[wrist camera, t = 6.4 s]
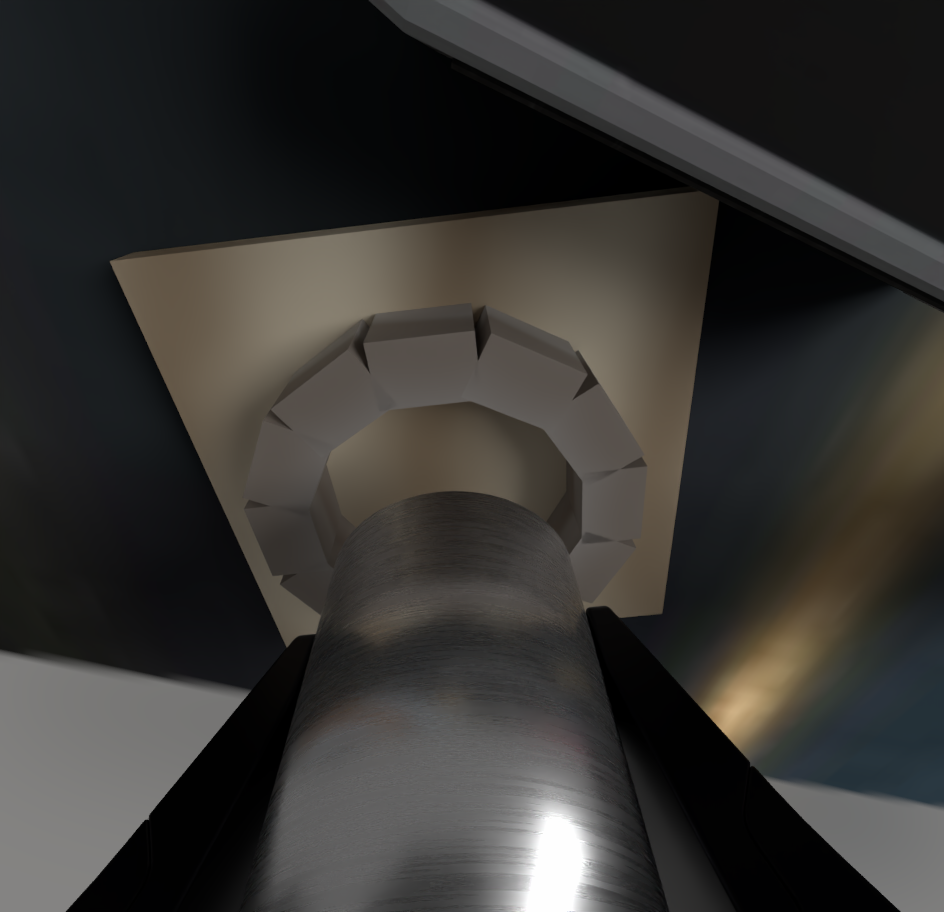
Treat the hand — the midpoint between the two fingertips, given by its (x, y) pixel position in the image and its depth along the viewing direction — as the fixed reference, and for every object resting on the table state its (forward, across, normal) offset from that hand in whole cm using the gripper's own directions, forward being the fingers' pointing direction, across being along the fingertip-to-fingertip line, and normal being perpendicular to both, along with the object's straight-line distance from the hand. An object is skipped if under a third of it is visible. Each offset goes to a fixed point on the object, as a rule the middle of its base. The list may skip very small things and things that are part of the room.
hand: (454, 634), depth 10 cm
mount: (+6, 0, 0) cm, 6 cm away
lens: (+1, 0, 0) cm, 1 cm away
